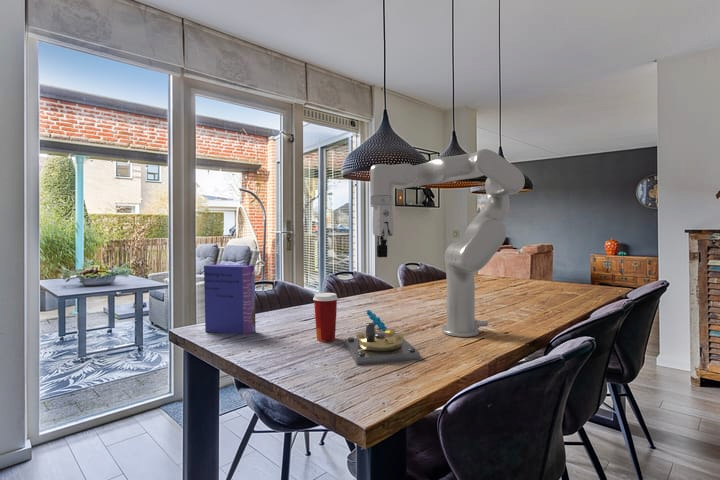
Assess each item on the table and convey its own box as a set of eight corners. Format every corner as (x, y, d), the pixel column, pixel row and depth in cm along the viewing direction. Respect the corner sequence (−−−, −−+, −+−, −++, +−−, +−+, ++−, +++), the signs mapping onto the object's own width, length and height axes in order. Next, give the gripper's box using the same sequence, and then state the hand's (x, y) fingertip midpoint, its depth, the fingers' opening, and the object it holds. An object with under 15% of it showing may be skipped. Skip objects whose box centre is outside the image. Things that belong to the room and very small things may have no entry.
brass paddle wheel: (373, 335, 127) (373, 313, 127) (410, 342, 120) (410, 318, 119) (349, 346, 116) (349, 321, 116) (387, 354, 109) (387, 328, 108)
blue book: (255, 331, 142) (254, 264, 141) (248, 335, 137) (247, 266, 136) (213, 328, 147) (212, 264, 146) (205, 331, 142) (203, 265, 141)
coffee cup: (342, 337, 133) (342, 293, 133) (330, 344, 126) (330, 297, 125) (321, 334, 137) (320, 291, 136) (308, 341, 129) (307, 295, 129)
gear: (386, 331, 135) (366, 309, 137) (374, 343, 135) (354, 321, 138) (390, 327, 146) (372, 307, 148) (379, 338, 146) (360, 318, 148)
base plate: (399, 341, 128) (399, 333, 128) (419, 359, 111) (419, 350, 111) (344, 345, 125) (344, 337, 124) (356, 364, 107) (356, 355, 107)
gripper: (399, 200, 125) (399, 258, 126) (386, 203, 140) (386, 255, 141) (376, 200, 124) (377, 259, 124) (365, 203, 138) (366, 255, 139)
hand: (382, 256), depth 132 cm, fingers closed
